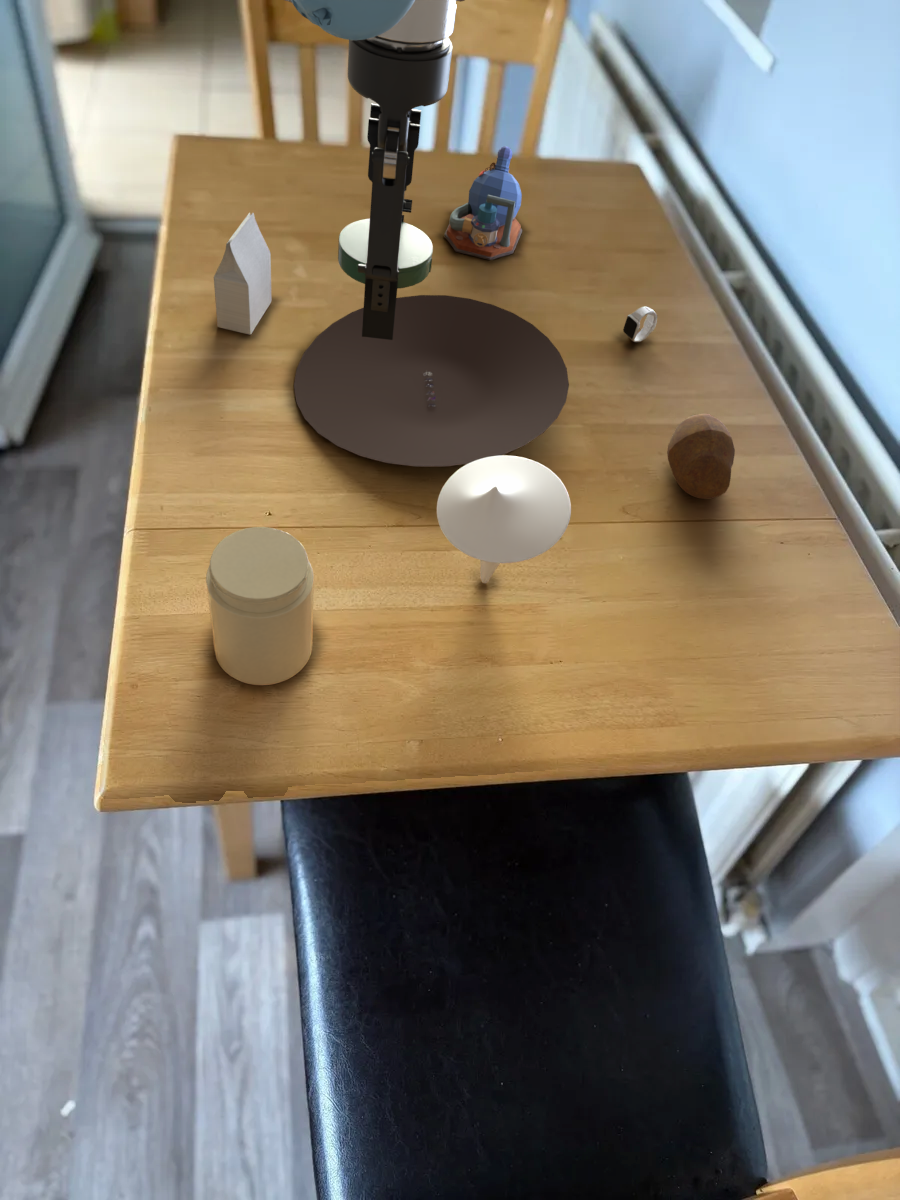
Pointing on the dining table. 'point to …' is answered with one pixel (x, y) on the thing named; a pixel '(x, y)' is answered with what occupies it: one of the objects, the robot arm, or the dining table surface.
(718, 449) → the potato
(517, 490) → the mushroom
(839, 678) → the dining table surface
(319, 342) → the plate
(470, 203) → the model
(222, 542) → the jam jar
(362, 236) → the jar lid
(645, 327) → the smartwatch
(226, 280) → the tea bag
